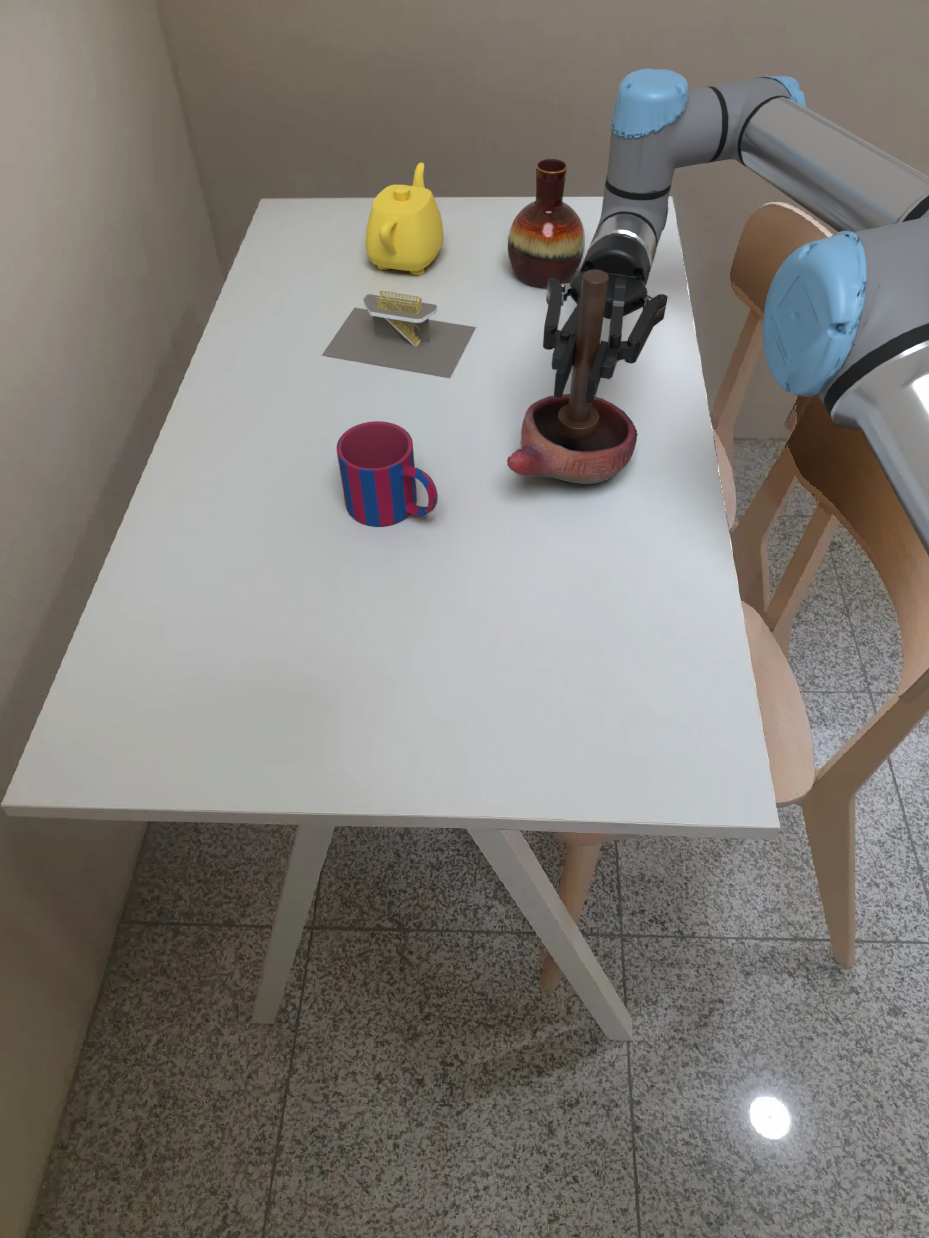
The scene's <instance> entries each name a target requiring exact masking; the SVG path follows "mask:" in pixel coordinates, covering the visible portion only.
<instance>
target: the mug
mask: <svg viewBox="0 0 929 1238" xmlns="http://www.w3.org/2000/svg"><path fill="white" fill-rule="evenodd" d="M414 454H415V453H414V442H413V439H412V435H410V432H409V431H407V430H406V429H405V428H404V427H402V426H400V425H398V424H396V423H393V422H389V421H381V420H380V421H378V420H377V421H376V420H375V421H366V422H361V423H360V424H359V423H358V424H356V425H354V426H352V427H350V428H349V429H347V430H346V431H344V433H342V435H341V436H340V437H339V438H338V440H337V443H336V456H337V461H338V468H339V474H340V479H341V486H342V492H343V497H344V504H345V508H346V511H347V513H348V514H349V516H351V518H352V519H354V520H355V521H357V522H359V523H361V524H363V525H366V526H371V527H388V526H392V525H393V526H394V525H395V524H398V523H400V522H402V521H404V520H405V519H407V518H408V517H410V515H413V516H427V515H428V514H430V513H431V512H432V511H434V510H435V508H436V507H437V505H438V500H439V497H438V490H437V486H436V485H435V482H434V480H433V479H432V477H431V476H430V475H429V474H428V473H427V472H425V471H424V470H422V469H420V468H418V467H415V455H414ZM416 480H418V481H419V482H420V483H421V484H422V485H423V487H424V489H425V490H426V494H427V498H428V503H427V506H420V505H417V503H418V501H417V500H418V495H417V482H416Z"/></svg>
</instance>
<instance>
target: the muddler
mask: <svg viewBox="0 0 929 1238" xmlns="http://www.w3.org/2000/svg"><path fill="white" fill-rule="evenodd" d="M608 280H609V276H608V274H607V273H606V272H604V271H601V270H589V271H586V272H585V273H584V274H583V279H582V288H581V298H580V307H579V316H578V325H577V334H576V343H575V352H574V361H573V367H572V369H571V379H570V389H569V394H570V397H569V404H568V405H565V406H564V407H562V408H561V409H560V411H559V413H558V422H557V427H558V430H559V431H560V432H561V433H562V434H563V435H564V436H566V437H569V438H572V439H585V438H589V437H591V436H593V435H594V434H595V433H596V431H597V429H598V422H599V414H598V412H597V410H596V409H595V408H593V407H592V406H591V405H592V403H588V402H585V400H586V392H587V384H588V378H589V375H590V372H591V369H592V366H593V363H594V360H595V357H596V354H597V351H598V348H599V345H600V342H601V340H602V339H601V338H602V330H603V323H604V309H605V302H606V295H607V288H608Z"/></svg>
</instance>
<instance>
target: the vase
mask: <svg viewBox="0 0 929 1238" xmlns="http://www.w3.org/2000/svg"><path fill="white" fill-rule="evenodd" d="M567 170H568V164H567V163H566V162H565V161H563V160H561V159H557V158H544V159H541V160H539V161H538V162H537V163H536V164H535V183H536V184H535V186H536V187H535V200H533V201H532V202H530V203H528V204H527V205H525V206H524V207H523V208H522V209H521V210H520V211H519V212H518V213H517V215H516V216H515V217H514V219H513V220H512V223H511V225H510V228H509V230H508V237H507V254H508V259H509V262H510V266H511V268H512V271H513V272H514V273H515V275H516V276H517V277H518V279H519V280H521V281H522V282H523V283H525V284H526V285H529V286H533V287H537V288H547V284H548V279H550V278H557V279H558V280H559V282H560V284H565V283H566V282H568V281H569V280H570V279H572V278H573V276H574V275H575V274H576V272H577V271H578V269H579V268H580V265H581V263H582V260H583V257H584V254H585V247H586V233H585V227H584V224H583V222H582V219H581V218H580V216H579V215H578V214H577V212H576V211H575V210H574V208H572V207H571V206H570V205H569V204H567V203H566V202H564V192H565V191H564V189H565V183H566V177H567V172H568V171H567Z"/></svg>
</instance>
